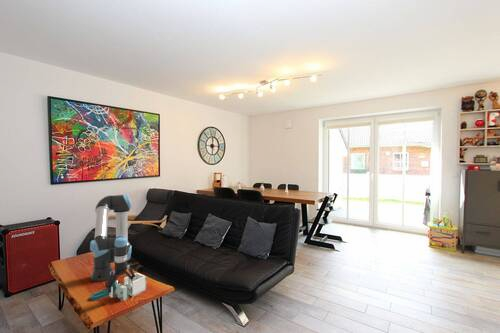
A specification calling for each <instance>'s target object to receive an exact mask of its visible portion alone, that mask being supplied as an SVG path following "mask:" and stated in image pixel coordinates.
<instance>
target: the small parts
mask: <svg viewBox="0 0 500 333" xmlns="http://www.w3.org/2000/svg"><path fill="white" fill-rule="evenodd" d="M117 281H118V280H117V279H116V282H115V286H116V285H117V284H118V282H117ZM113 298H115V299H116V298H117V297H116V290H115V293H113ZM129 298H130V295H129V294H127V299H129ZM119 301H120V302H123V298H122V297H121V298H119Z"/></svg>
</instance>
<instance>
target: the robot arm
mask: <svg viewBox="0 0 500 333" xmlns="http://www.w3.org/2000/svg"><path fill="white" fill-rule="evenodd" d="M131 209H132V202H131V197H130V195H129V194H117V195H106V196H104V197H103V198H101V199H100V200H98V202H97V204H96V206H95V209H94V210H95V211H94V212H95V214H96V215H95V216H96V218H95V226H94V228H95V229H94V230H95V231H94V239H93V240H91V241H90V243H89V250H90V252H91V253H93V270H92V273H91V276H90V279H91V282H103V281H106V283H105V285H104V287H105V289H106V288H108V292H109V295H108V296H109V297H110V298H114V293H113V287H112V285H113V284H114V282H115V280H117V279H118V278H119V277H120V276H121V275H124V274H125V275H126V277H127V276H128V277H129V278H130V279H128V288H129V289H131V283H132V279H133V277H135V272H134V270H133V268H132V265H131V264H128V261H129V260H130V259H131V255H132V247H133V246H132V245H131V244H130V242H129V240H128V239H129V238H128V237H129V236H128V235H129V234H128V231H129V230H128V229H129V228H128V227H129V226H128V225H129V223H128V219H129V218H128V217H129V216H128V213H130V210H131ZM110 211H113V213H114V214H115V237H109V238H108V224H109V223H108V222H109V213H110ZM111 264H114V270H113V268H112V265H111ZM127 269H128V271H127ZM131 275H132V276H131Z"/></svg>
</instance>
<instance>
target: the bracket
mask: <svg viewBox="0 0 500 333" xmlns="http://www.w3.org/2000/svg"><path fill="white" fill-rule="evenodd" d="M116 280H117V279H116ZM116 280H115V282H116ZM115 282H114V284H113V285H112V287H113V294H115V290H116V286H115ZM117 282H118V284H122V283H121V281H119V280H117ZM108 296H109V292H108V288H106V287H105V288H104V289H101V290H99V291H96V292H94V293H91V294H90V301H99V300H101V299H104V298H106V297H108Z"/></svg>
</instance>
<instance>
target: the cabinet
mask: <svg viewBox="0 0 500 333" xmlns="http://www.w3.org/2000/svg"><path fill="white" fill-rule="evenodd" d="M134 274H135V277H133V279H132V283H131V289H129V288H128V279H130V278H129V277H128V276H127V275H126V276H125V277H124V278H123V285H124V286H126V287H127V294H128V295H129V296H131V297H135V296H138V295H140V294H141V293H143V292H145V291H147V276H146V275H144V274H141V273H139V272H134ZM130 275H131V274H130ZM131 276H132V275H131Z"/></svg>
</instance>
